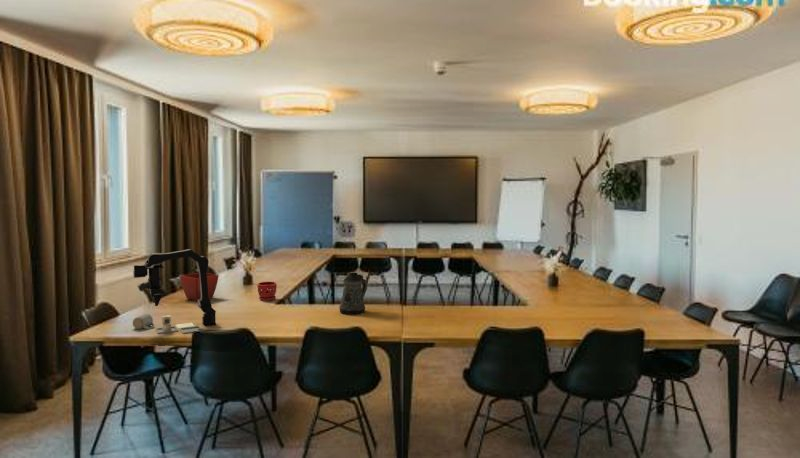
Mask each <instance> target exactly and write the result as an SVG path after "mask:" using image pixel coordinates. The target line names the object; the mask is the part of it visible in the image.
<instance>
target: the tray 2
mask: <svg viewBox="0 0 800 458" xmlns="http://www.w3.org/2000/svg"><path fill="white" fill-rule="evenodd" d="M196 329H202V328H201V326H199V325H197V326H196V325H194V327H185V328H179V331H180V332H181V334H183V335H185V334H193V333H192V332H193V331H194V330H196Z"/></svg>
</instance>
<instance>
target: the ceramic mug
mask: <svg viewBox="0 0 800 458" xmlns="http://www.w3.org/2000/svg"><path fill="white" fill-rule="evenodd" d="M132 326H133V327H134V329H136V330H142V329H146V330H151V329H154V328H155V323H154V320H153V317H152V315H150V314H149V313H147V312H146V313H143V314H141V315H138V316H136V317H135V318H134V319H133V320H132Z"/></svg>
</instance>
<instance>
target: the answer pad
mask: <svg viewBox="0 0 800 458" xmlns="http://www.w3.org/2000/svg"><path fill="white" fill-rule="evenodd" d="M175 326H176V328H177V329H180V328H187V327H195V325H194V323H193V322H185V323H179V324H175Z"/></svg>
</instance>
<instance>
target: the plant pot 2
mask: <svg viewBox="0 0 800 458" xmlns="http://www.w3.org/2000/svg"><path fill="white" fill-rule="evenodd" d="M256 286H257V292H258V293H257V294H258V295H259V297H258V299H259V300H260V301H263V302H267V301H268V302H269V301H270V302H271V301H273V300H276V298H277V296H276V293H277V282H275V281H261V282H258V283H257V285H256Z"/></svg>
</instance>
